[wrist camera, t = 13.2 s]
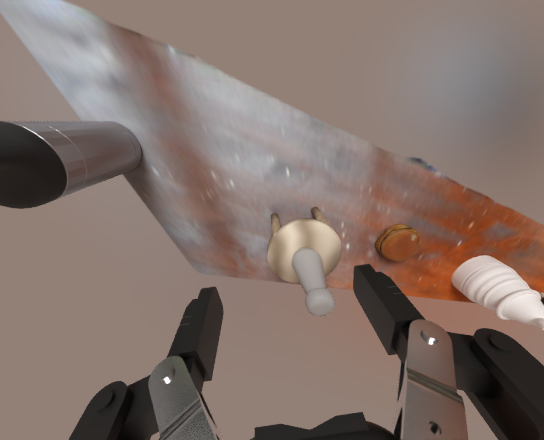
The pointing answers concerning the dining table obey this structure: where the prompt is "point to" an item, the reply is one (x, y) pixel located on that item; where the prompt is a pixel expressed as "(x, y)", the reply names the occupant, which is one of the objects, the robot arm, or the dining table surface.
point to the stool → (302, 244)
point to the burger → (398, 243)
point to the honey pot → (499, 290)
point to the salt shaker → (313, 281)
